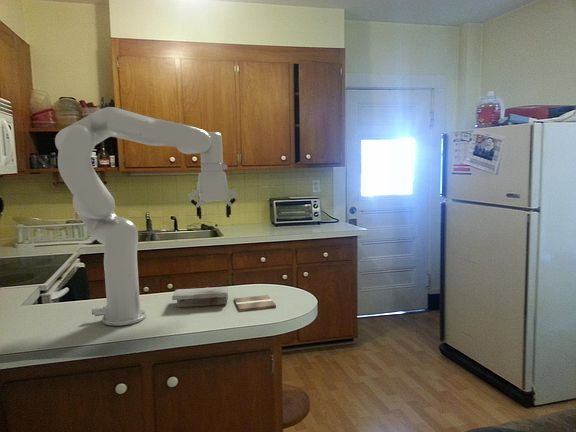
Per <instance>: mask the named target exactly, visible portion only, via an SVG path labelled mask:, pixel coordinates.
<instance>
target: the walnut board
mask: <svg viewBox="0 0 576 432" xmlns="http://www.w3.org/2000/svg"><path fill="white" fill-rule="evenodd" d="M233 302H234V304H235V306H236V307H237V309H238V311H239V312H248V311H256V310H258V311H259V310H268V309H275V308H276V309H277V305H276V304H275V302H274V301H273V299H271V297H270V296H269V295H268V294H266V295H264V294H263V295H256V296H246V297H235V298H233Z"/></svg>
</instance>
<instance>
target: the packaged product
mask: <svg viewBox="0 0 576 432" xmlns="http://www.w3.org/2000/svg"><path fill="white" fill-rule="evenodd" d="M171 297H172V298H171V300H172V301H176V306H177V307H178V308H188V307H204V306H205V307H206V306H220V305H227V304H228V300H229V289H228V287H226V286H216V287H208V286H207V287H202V288H201V287H199V288H197V287H196V288H185V289H184V288H183V289H182V288H181V289H179V288H178V289H175V290H174V292H173V295H172V296H171Z"/></svg>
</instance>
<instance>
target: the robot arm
mask: <svg viewBox="0 0 576 432" xmlns="http://www.w3.org/2000/svg"><path fill="white" fill-rule="evenodd" d="M111 137H112V138H116V139H120V140H126V141H131V142H134V143H138V144H143V145H145V146H146V145H147V146H152V147H174V148H176V150H178V151H179V152H180V153H182V154H185V155H193V154H200V171H201V172H199V173H198V178H197V189H195V190H193V191H192V192H191V193H189V194H187V198H188V199H189V201H190V202H191V204H192V205H193V206H195V207H196V217H198V219H199V220H201V219H202V207H201V205H202V204H203V203H205V202H206V203H209V202H224V203H225V204H226V205H225V216H226V218H229V219H230V215H232V205H233V204H234V203H235V202H236V200H237V198H238V196H239V193H238V192H236V191H234V190H232V189H230V188H229V186H228V179H227V174H226V172H225V171H224V170H228V165H227V164H224V154H223V136H222V134H221V133H220V132H216V131H206V130H204V129H201V128H198V127H195V126H191V125H188V124H184V123H179V122H174V121H168V120H164V119H159V118H155V117H150V116H148V115H143V114H140V113H136V112H134V111H133V112H132V111H130V110H126V109H122V108H118V107H115V106H106V107H103V108H101V109H97V110H96V111H93V112H92V113H91V114H89V115H87V116H85V117H84V118H81V119H80V120H78V121H75V122H74V123H71V124H70V125H68V126H66V127H64V128H62V129H61V130H59V132H58V133H57V134H56V135H55V140H54V142H55V143H54V144H55V148H56V149H57V150H58V151H57V152H58V153H57V168H58V172H59V175H60V177H61V179H62V180H63V182H64V184H65V185H66V186H67V188H68V190H69V191H70V192H71V195H72V206H73V209H74V211H75V213H76V215H77V216H78V217H79V219H80V220H81V222H82V223H83V225H84V226H85V227H86V228H87V230H88V231H89V232H90V234H91V235H92V236H93V237H94V239H95V240H96V241H97V242H98V243H100V244H102V245H104V252H103V253H104V254H103V268H104V269H103V270H104V271H103V272H104V282H105V283H104V284H105V297H106V305H105V306H102V307H100V308H99V307H96V308H91V315H92V316H94V317H100V316H101V317H102V318H101V319H102V321H101V322H102V323H103V324H104V325H106V326H118V327H119V326H127V325H132V324H135V323H138V322H139V323H140V322H141V321H143V320H144V319H145V318H146V314H147V313H146V311H145V310H143V309H141V302H140V301H141V300H140V285H139V270H138V247H139V246H138V244H139V231H138V228H137V225H136V224H135V223H134V222H132V221H131V220H130V219H128V218H126V217H122V216H118V215H117V214H116V212H115V209H116V202H115V199H114V197H113V195H112V194H111V192H110V191H109V190H108V189H107V187H106V185H105V184H104V183H103V181H102V180H101V178H100V177H99V175H98V174H97V172H96V170H95V168H94V166H93V164H92V153H93V151H94V149H95V147H96V146H97V145H98V144H101V143H102V142H104V141H105V140H106V139H108V138H111ZM229 194H230V195H232V197H231V199H229ZM196 195H197V196H198V200H197V201H196V200H195V199H194V196H196Z"/></svg>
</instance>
